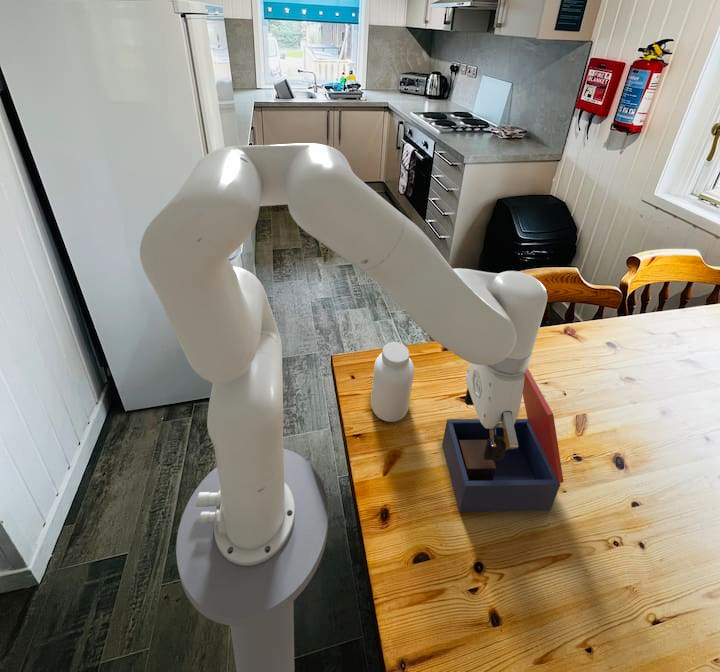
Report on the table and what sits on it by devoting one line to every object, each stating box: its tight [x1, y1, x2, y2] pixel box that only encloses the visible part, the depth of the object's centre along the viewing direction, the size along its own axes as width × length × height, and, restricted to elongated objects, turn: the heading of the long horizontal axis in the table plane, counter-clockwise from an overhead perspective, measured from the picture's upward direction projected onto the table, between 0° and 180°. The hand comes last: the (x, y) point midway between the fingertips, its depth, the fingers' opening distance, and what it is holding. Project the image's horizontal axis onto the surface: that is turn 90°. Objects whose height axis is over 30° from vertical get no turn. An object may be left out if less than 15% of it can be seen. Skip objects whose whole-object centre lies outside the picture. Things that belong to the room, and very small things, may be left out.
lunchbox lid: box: [522, 367, 565, 484], centre depth 65 cm, size 16×12×1 cm
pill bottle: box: [370, 341, 415, 423], centre depth 80 cm, size 8×8×15 cm
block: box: [458, 440, 496, 481], centre depth 69 cm, size 5×5×5 cm
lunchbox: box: [442, 418, 561, 513], centre depth 69 cm, size 16×12×7 cm
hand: (482, 428), depth 66 cm, fingers open, 9 cm apart
